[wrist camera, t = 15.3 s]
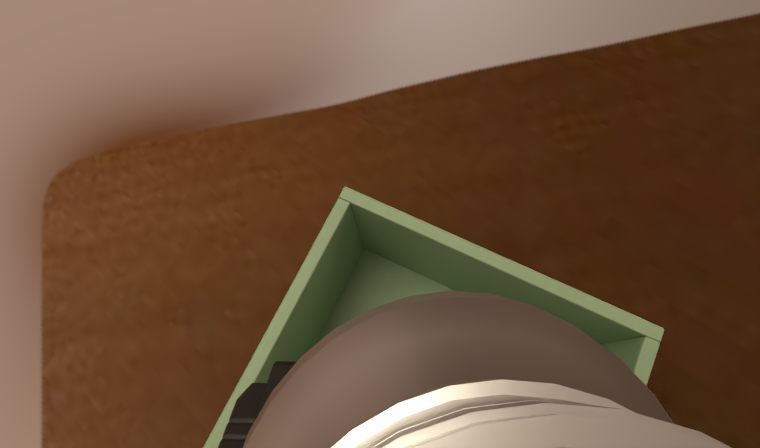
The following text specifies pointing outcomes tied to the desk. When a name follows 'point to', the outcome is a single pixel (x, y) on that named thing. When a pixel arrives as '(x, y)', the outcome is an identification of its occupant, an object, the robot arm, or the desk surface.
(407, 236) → the storage bin
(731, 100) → the desk surface
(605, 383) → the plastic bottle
